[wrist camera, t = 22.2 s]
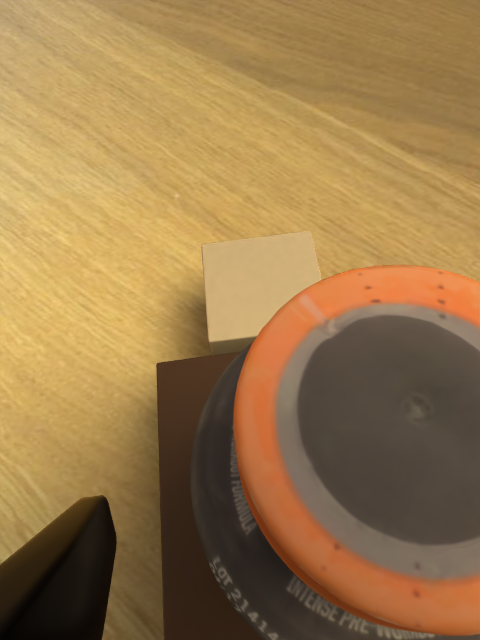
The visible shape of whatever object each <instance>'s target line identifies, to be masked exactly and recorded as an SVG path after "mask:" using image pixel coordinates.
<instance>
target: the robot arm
mask: <svg viewBox="0 0 480 640" xmlns="http://www.w3.org/2000/svg"><path fill="white" fill-rule="evenodd" d="M116 544H117V541H116V532H115V528H114V524H113V520H112V516H111V511H110V507H109V503H108V501H107V499H106V497H104V496H103V495H100V496H92V497H84V498H81V499H80V500H78V501H77V502H76V503H75V504H73V505H72V506H71V507H70V508H69V509H67V510H66V511H65V512H64V513H62V514H61V515H60V516H59V517H58V518H56V519H55V520H54V521H53V522H52V523H50V524H49V525H48V526H47V527H46V528H44V529H43V530H42V531H41V532H39V533H38V534H37V535H36V536H35V537H33V538H32V539H31V540H30V541H29V542H27V543H26V544H25V545H24V546H23V547H21V548H20V549H19V550H18V551H16V552H15V553H14V554H13V555H12V556H10V557H9V558H8V559H7V560H6V561H4V562H3V563H2V564H1V565H0V640H102V635H103V630H104V624H105V618H106V611H107V605H108V598H109V592H110V585H111V579H112V572H113V566H114V559H115V553H116Z"/></svg>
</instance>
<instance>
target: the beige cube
mask: <svg viewBox="0 0 480 640" xmlns="http://www.w3.org/2000/svg"><path fill="white" fill-rule="evenodd" d="M201 248H202V261H203V275H204V289H205V302H206V316H207V329H208V342H209V345H210V348H211V352H212V355H219V354H227V353H234V352H241V351H243V350H244V349H245V348H246V347H247V346H248V345H249V344H250V343H251V342H253V341H254V340H255V339H256V337H257V336H258V334H259V332H260V331H261V329H262V328H263V327H264V326H265V325H266V324H267V323H268V322H269V320H270V319H271V318H272V317H273V316H274V314H275V313H276V312H277V311H278V310H279V309H280V308H281V307H282V306H283V305H285V304H286V303H287V302H288V301H289V300H290V299H291V298H293V297H294V296H295V295H297V294H298V293H300V292H301V291H303V290H304V289H306V288H307V287H309V286H311V285H313V284H315V283H317V282H318V281H321V280H322V277H321V273H320V268H319V264H318V260H317V255H316V251H315V247H314V242H313V238H312V233H311V231H303V232H295V233H287V234H279V235H271V236H263V237H255V238H246V239H238V240H230V241H222V242H214V243H206V244H202V246H201Z"/></svg>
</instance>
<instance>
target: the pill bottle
mask: <svg viewBox="0 0 480 640" xmlns="http://www.w3.org/2000/svg"><path fill="white" fill-rule="evenodd" d="M190 490H191V499H192V510H193V514H194V520H195V526H196V530H197V532H198V535H199V538H200V541H201V545H202V548H203V550H204V553H205V555H206V558H207V561H208V563H209V565H210V567H211V569H212V571H213V574H214V576H215V578H216V580H217V582H218V584H219V585H220V587H221V589H222V590H223V592H224V594H225V595H226V597H227V598H228V599H229V601H230V602H231V604H232V605H233V607H234V608H235V610H236V611H237V613H238V614H239V615H240V616H241V617H242V619H243V620H244V621H245V622H246V623H247V624H248V625H249V626H250V627H251V628H252V629H253V630H254V631H255V632H256V633H257V634H258V635H259V636H260V637H261V639H262V640H480V282H477V281H475V280H473V279H470V278H468V277H465V276H462V275H459V274H456V273H452V272H448V271H443V270H439V269H434V268H429V267H423V266H412V265H382V266H372V267H367V268H359V269H352V270H349V271H347V272H343V273H339V274H336V275H334V276H331V277H329V278H327V279H324V280H321V281H318V282H317V283H315V284H313V285H311V286H309V287H307V288H306V289H304V290H303V291H301V292H300V293H298V294H297V295H295V296H294V297H293V298H291V299H290V300H289V301H288V302H287V303H286V304H285V305H283V306H282V307H281V308H280V309H279V310H278V311H277V312H276V313H275V314H274V316H273V317H272V318H271V319H270V320H269V322H268V323H267V324H266V325H265V326H264V327H263V328H262V329H261V331H260V332H259V334H258V336H257V337H256V339H255V340H254V341H253V342H251V343H250V344H249V345H248V346H247V347H246V348H245V349H244V350H243V351H241V352H240V353H239V354H238V355H237V356H236V357H235V358H234V360H233V361H232V362H231V363H230V364H229V365H228V366H227V368H226V369H225V371H224V372H223V373H222V375H221V376H220V378H219V379H218V381H217V382H216V384H215V385H214V387H213V389H212V391H211V393H210V395H209V397H208V399H207V401H206V402H205V404H204V407H203V410H202V412H201V415H200V418H199V421H198V425H197V428H196V431H195V436H194V441H193V447H192V452H191V463H190Z"/></svg>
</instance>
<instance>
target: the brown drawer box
mask: <svg viewBox="0 0 480 640" xmlns="http://www.w3.org/2000/svg"><path fill="white" fill-rule="evenodd" d="M239 353H240V352H234V353H227V354H219V355H212V356H205V357H197V358H190V359H183V360H175V361H168V362H161V363H157V365H156V367H157V403H158V439H159V474H160V510H161V546H162V581H163V617H164V640H262V639H261V637H260V636H259V635H258V634H257V633H256V632H255V631H254V630H253V629H252V628H251V627H250V626H249V625H248V624H247V623H246V622H245V621H244V620H243V619H242V617H241V616H240V615H239V614H238V613H237V611H236V610H235V608H234V607H233V605H232V604H231V602H230V601H229V599H228V598H227V597H226V595H225V594H224V592H223V590H222V589H221V587H220V585H219V584H218V582H217V580H216V578H215V576H214V574H213V571H212V569H211V567H210V565H209V563H208V561H207V558H206V555H205V553H204V550H203V548H202V545H201V541H200V538H199V535H198V532H197V530H196V526H195V520H194V514H193V510H192V499H191V490H190V463H191V452H192V447H193V441H194V436H195V431H196V428H197V425H198V421H199V418H200V415H201V412H202V410H203V407H204V404H205V402H206V401H207V399H208V397H209V395H210V393H211V391H212V389H213V387H214V385H215V384H216V382H217V381H218V379H219V378H220V376H221V375H222V373H223V372H224V371H225V369H226V368H227V366H228V365H229V364H230V363H231V362H232V361H233V360H234V358H235V357H236V356H237V355H238V354H239Z"/></svg>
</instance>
